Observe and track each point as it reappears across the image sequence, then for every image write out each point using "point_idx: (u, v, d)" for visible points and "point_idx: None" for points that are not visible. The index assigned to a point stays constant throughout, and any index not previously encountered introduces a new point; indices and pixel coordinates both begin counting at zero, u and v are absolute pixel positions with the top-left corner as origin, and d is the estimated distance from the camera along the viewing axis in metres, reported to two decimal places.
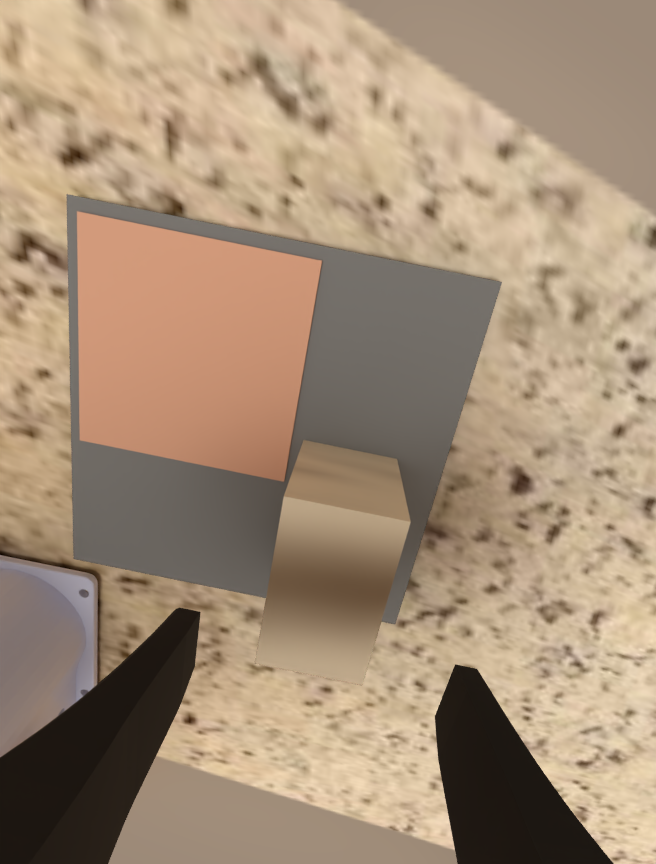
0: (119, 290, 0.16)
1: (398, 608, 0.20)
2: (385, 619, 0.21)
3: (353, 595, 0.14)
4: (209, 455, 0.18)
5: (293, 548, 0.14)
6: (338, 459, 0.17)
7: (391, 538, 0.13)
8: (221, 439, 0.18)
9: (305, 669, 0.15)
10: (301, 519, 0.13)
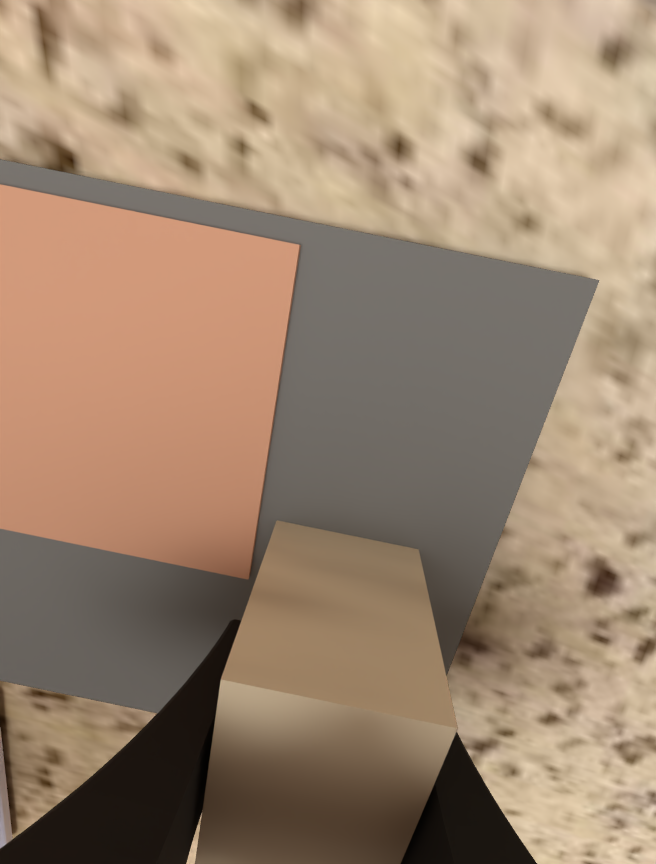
0: None
1: None
2: None
3: (351, 830, 0.08)
4: (136, 541, 0.12)
5: (243, 758, 0.08)
6: (328, 559, 0.11)
7: (421, 751, 0.07)
8: (151, 519, 0.12)
9: None
10: (254, 716, 0.07)
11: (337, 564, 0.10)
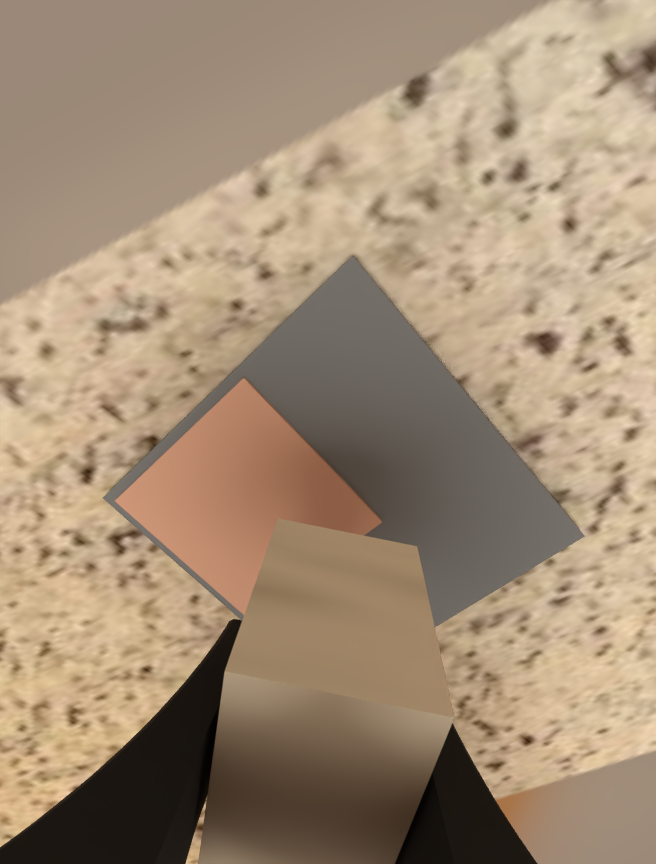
0: (174, 516, 0.20)
1: (571, 522, 0.19)
2: (572, 539, 0.19)
3: (351, 818, 0.08)
4: None
5: (247, 748, 0.08)
6: (328, 556, 0.11)
7: (419, 740, 0.07)
8: None
9: None
10: (258, 708, 0.07)
11: (337, 561, 0.11)
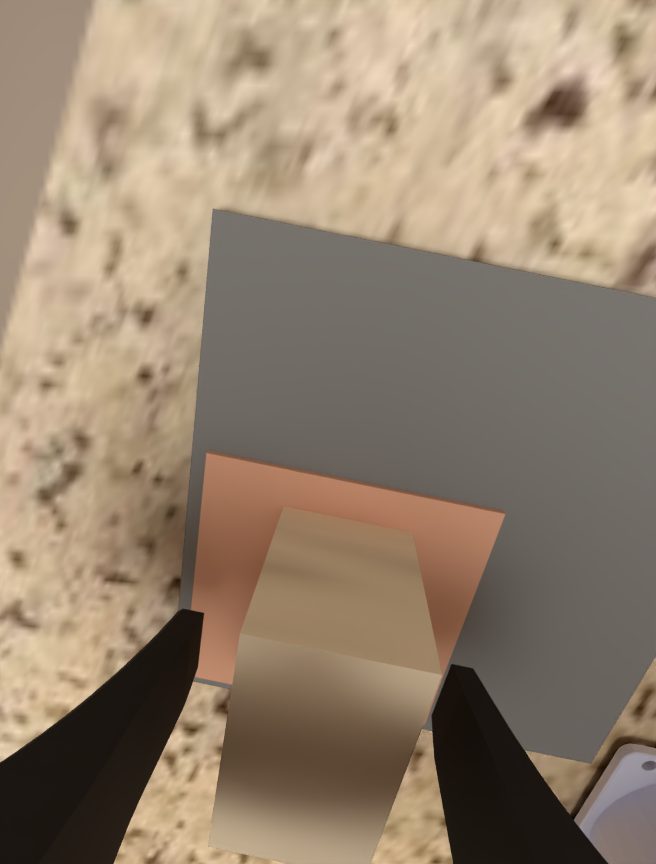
0: None
1: None
2: None
3: (351, 769, 0.09)
4: (455, 599, 0.14)
5: (258, 705, 0.09)
6: (330, 539, 0.12)
7: (411, 696, 0.08)
8: (433, 583, 0.13)
9: (281, 856, 0.11)
10: (268, 666, 0.08)
11: (338, 543, 0.12)
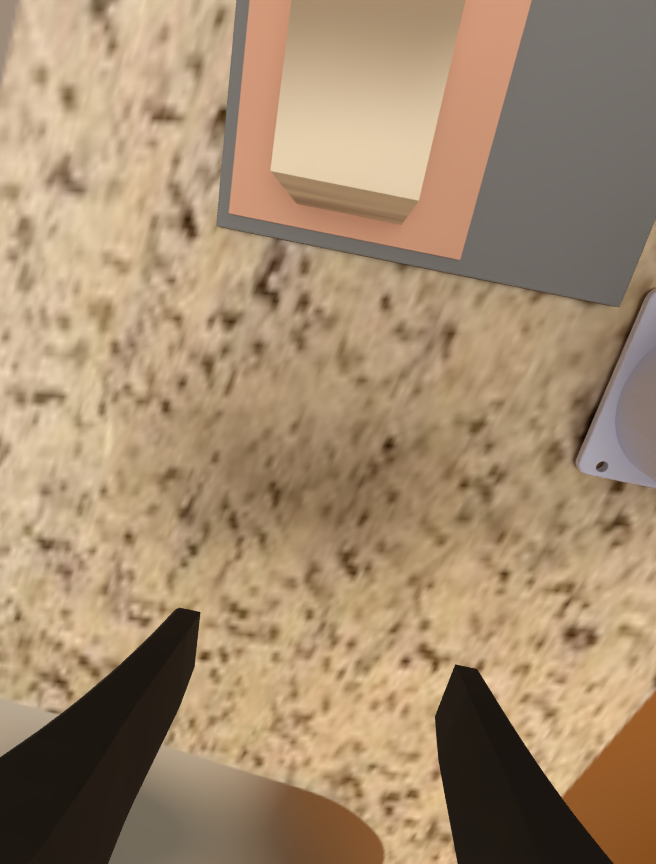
0: None
1: None
2: None
3: (413, 9, 0.10)
4: (494, 77, 0.14)
5: None
6: None
7: None
8: (473, 57, 0.14)
9: (340, 176, 0.11)
10: None
11: None
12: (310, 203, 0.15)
